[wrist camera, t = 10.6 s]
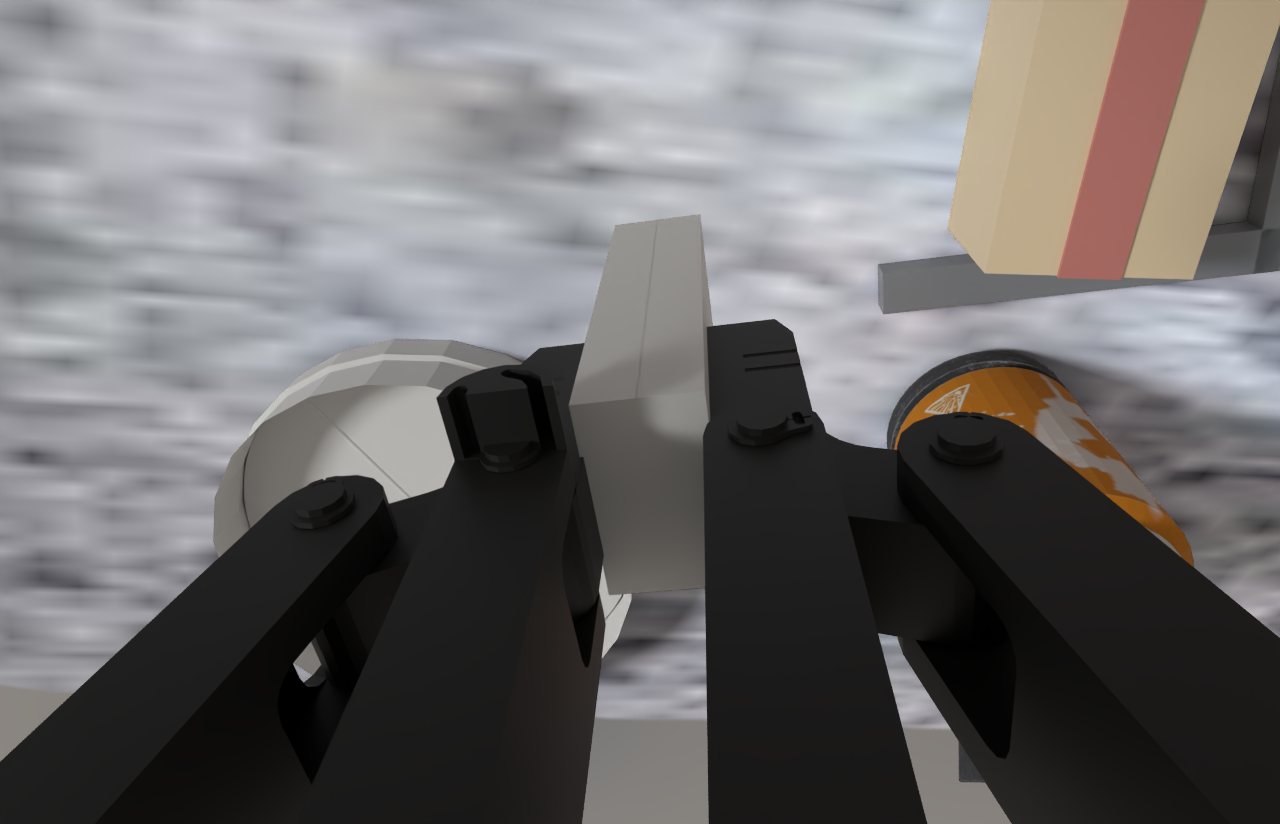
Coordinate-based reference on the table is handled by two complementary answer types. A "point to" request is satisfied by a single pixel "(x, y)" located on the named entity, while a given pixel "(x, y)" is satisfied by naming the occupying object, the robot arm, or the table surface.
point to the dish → (360, 439)
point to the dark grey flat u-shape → (1256, 246)
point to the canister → (1050, 417)
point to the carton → (1105, 133)
